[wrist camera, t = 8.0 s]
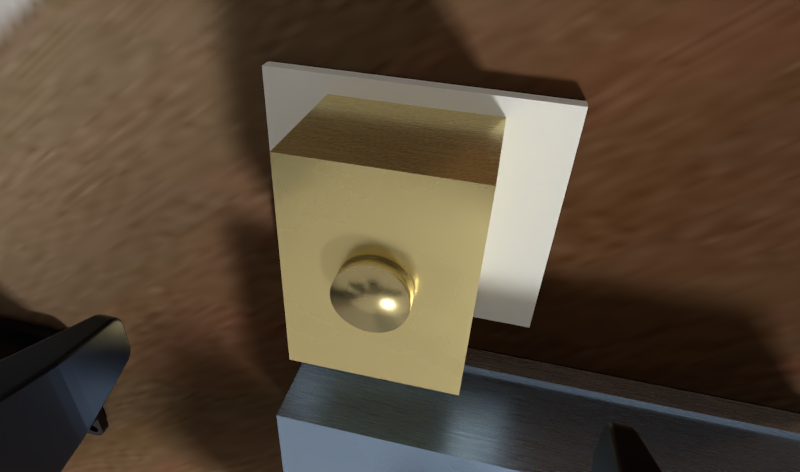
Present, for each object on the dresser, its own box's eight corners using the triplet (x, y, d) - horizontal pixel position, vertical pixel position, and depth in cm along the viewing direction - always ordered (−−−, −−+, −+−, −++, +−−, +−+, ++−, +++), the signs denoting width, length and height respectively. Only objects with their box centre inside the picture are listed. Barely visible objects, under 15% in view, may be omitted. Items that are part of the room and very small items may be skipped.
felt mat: (286, 273, 18) (281, 280, 17) (268, 61, 14) (261, 65, 13) (529, 318, 16) (529, 327, 16) (587, 101, 12) (588, 107, 12)
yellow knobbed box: (331, 278, 17) (281, 373, 14) (327, 93, 13) (259, 162, 10) (473, 304, 16) (456, 411, 13) (506, 117, 13) (493, 199, 9)
